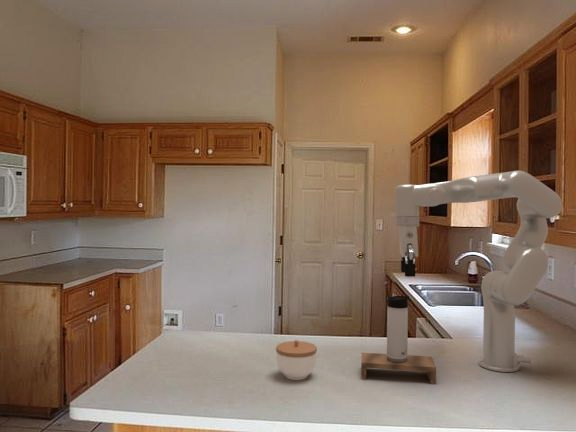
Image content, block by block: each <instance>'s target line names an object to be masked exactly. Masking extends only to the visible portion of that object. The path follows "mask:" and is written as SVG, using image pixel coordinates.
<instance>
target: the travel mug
mask: <svg viewBox="0 0 576 432" xmlns="http://www.w3.org/2000/svg"><path fill="white" fill-rule="evenodd" d="M409 299H410V295H393V296H389V297H388V298H387V309H386V310H387V311H386V313H387V314H386V316H387V317H386V319H387V320H386V322H387V323H386V354H387V359H388V360H389V361H392V362H397V363H402V362H406V361H407V355H408V344H409V343H408V342H409V341H408V339H409V337H408V332H409V331H408V330H409V328H408V326H409V325H408V324H409V321H408V320H409V302H408V300H409Z"/></svg>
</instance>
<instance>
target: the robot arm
mask: <svg viewBox="0 0 576 432" xmlns="http://www.w3.org/2000/svg"><path fill="white" fill-rule="evenodd" d="M509 198H517V201H516V210H517V212H518V215H519V218H520V226H519V229H518V231H517V232H516V234H515V235H514V237H513V239H512V240H511V242H510V243H509V245H508V246H507V247H506V249H505V251H504V252H503V255H502V257H501V262H502V265H503V266H504V268H505V269H507V270H509V272H506V271H503V270H492V271H489V272H487V273H486V274H485V275H484V277H483V278H482V279H481V286H480V288H481V294H482V301H483V302H482V303H483V330H482V332H483V336H482V337H483V338H482V343H483V345H482V349H483V350H482V356H481V357H479V358H478V359H477V363H478V366H480V367H482V368H484V369H487V370H490V371H495V372H501V373H513V372H517V371H519V370H520V368H521V365H520V364H521V363H523V364H531V363H532V360H531V357H529V356H524V355H520V354H519V355H518V354H516V353H515V352H516V351H515V349H516V348H515V347H516V342H515V341H516V337H515V336H516V309H515V306H520V305H523V304H524V303H525V302H527V300H528V299H529V298H531V296H532V295H533V293H534V291H535V290H536V288H537V287H538V285H539V284H540V282H541V281H542V279H543V277H544V276H545V274H546V272H547V271H548V267H549V257H548V255H547V253H546V252H545V250H544V249H542V247H543V246H544V243H545V242H546V240H547V238H548V233H549V228H548V227H549V226H548V223H547V219H551V218H555V217H556V216H558V215H559V214H560V213H561V211H562V210H563V200H562V198H561V197H560V195H559V194H558V193H557V192H556V191H554V190H553V189H551V188H550V187H548V186H547V185H546V184H544V183H543V182H541V180H539V179H537V178H536V177H534V176H533V175H532V174H530V173H528V172H526V171H523V170H512V171H506V172H498V173H488V174H480V175H474V176H473V175H472V176H466V177H461V178H459V179H458V178H457V179H454V180H448V181H441V182H433V183H432V182H431V183H424V184H412V183H411V184H400V185H399V184H398V185H396V186H395V189H394V204H395V206H394V208H395V211H394V212H395V219H394V220H395V222H394V223H395V227H396V228H398V234H399V235H398V238H399V239H398V240H399V242H398V244H399V254H400V255H401V257H400V259H401V260H400V271H401V273H404V276H405V277H407V278H408V277H409V278H410V277H416V262H415V261H416V260H415V258H418V257H419V244H418V243H419V242H418V239H419V238H418V231H417V229H418V228H417V227H420V207H436V206H439V205H444V204H445V205H446V204H455V203H456V204H458V203H459V204H468V203H470V204H471V203H478V202H485V201H491V200H493V201H494V200H500V199H509Z"/></svg>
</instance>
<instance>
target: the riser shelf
mask: <svg viewBox="0 0 576 432" xmlns="http://www.w3.org/2000/svg"><path fill="white" fill-rule="evenodd" d="M432 357H433V356H430V355H429V356H428V355H410V354H407V361H406V362H402V363H397V362H392V361H389V360H388V359H387V353H375V352H361V359H360V360H361V365H360V366H361V367H360V368H361V369H360V373H361V375H360V376H361V377H360V378H361V380H367V369H377V370H378V369H379V370H395V371H410V372H411V371H413V372H425V373H426V375H427V378H428V380H429V383H430V384H434V385H437V366H436V364H435V361H434V359H433V358H432Z"/></svg>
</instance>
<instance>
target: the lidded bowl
mask: <svg viewBox="0 0 576 432" xmlns="http://www.w3.org/2000/svg"><path fill="white" fill-rule="evenodd" d="M275 350H276V351H275V352H276V363H277V366H278V370H279V371H280V372H281V373H282V374H283V375H284V377H285V378H286V379H288V380H292V381H302V380H305V379H307V378H308V376H309V375H310V374H311V373H312V372H313V371H314V368H315V366H316V361H317V346H316V345H315V344H313V343H312V342H307V341H304V340H303V341H301V340H297V339H294V340H292V341H291V340H290V341H284V342H281V343H279V344H277V345H276V347H275Z"/></svg>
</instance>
